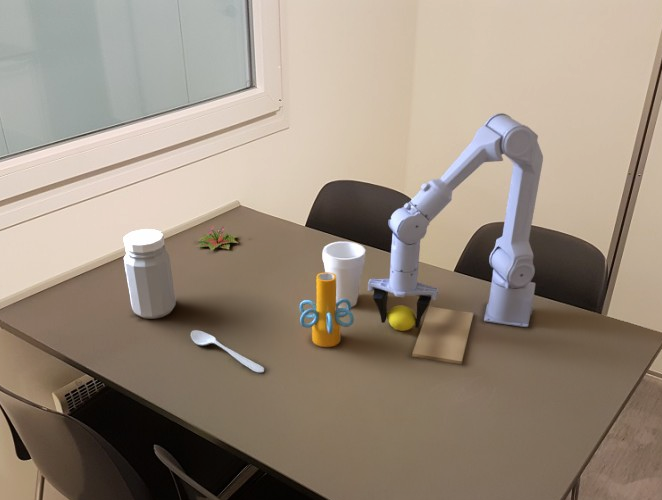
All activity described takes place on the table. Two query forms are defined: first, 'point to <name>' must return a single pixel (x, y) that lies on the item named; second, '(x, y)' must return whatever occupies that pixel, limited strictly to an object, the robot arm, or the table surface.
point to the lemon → (401, 318)
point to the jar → (149, 274)
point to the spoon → (205, 339)
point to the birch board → (443, 335)
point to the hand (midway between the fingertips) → (400, 323)
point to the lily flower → (217, 240)
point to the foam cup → (345, 269)
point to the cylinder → (326, 312)
